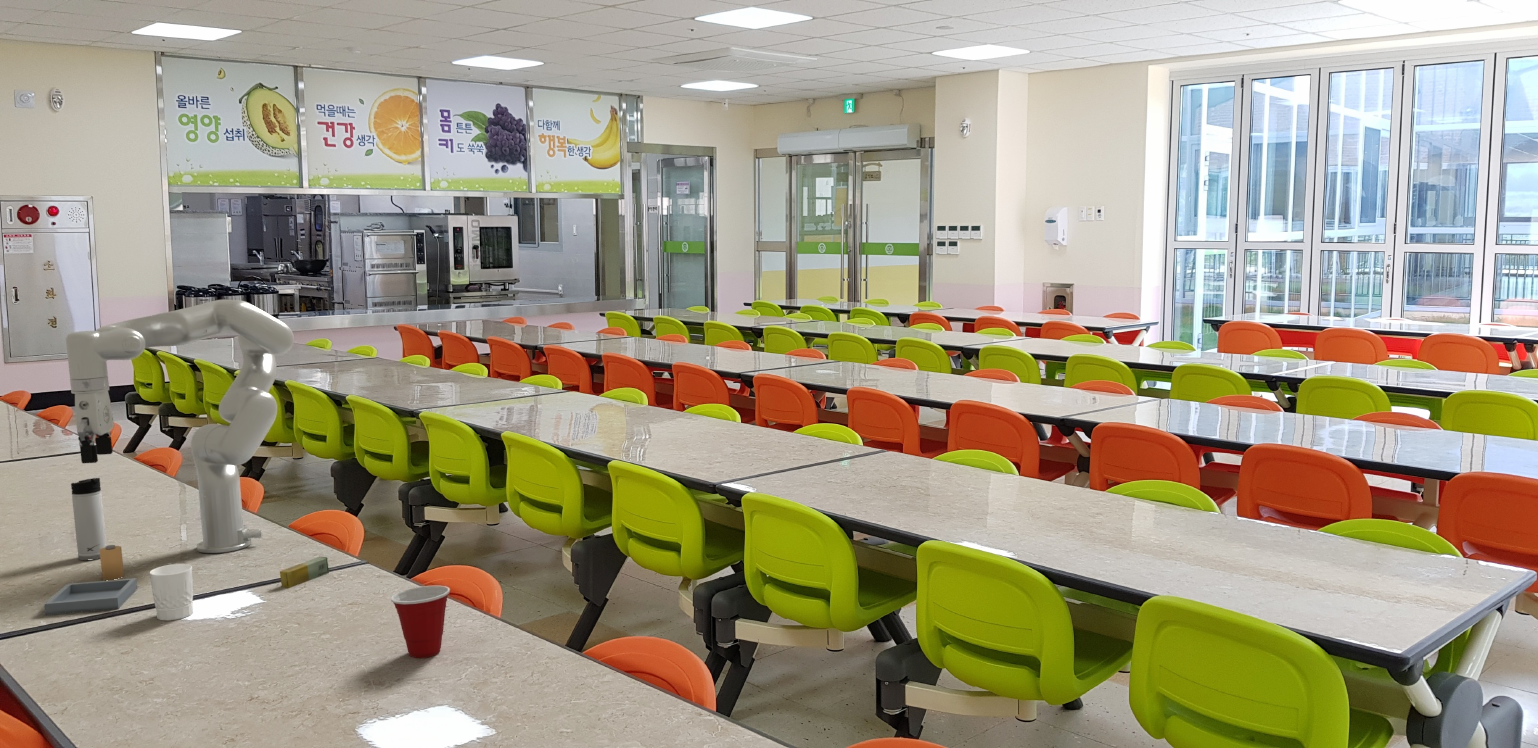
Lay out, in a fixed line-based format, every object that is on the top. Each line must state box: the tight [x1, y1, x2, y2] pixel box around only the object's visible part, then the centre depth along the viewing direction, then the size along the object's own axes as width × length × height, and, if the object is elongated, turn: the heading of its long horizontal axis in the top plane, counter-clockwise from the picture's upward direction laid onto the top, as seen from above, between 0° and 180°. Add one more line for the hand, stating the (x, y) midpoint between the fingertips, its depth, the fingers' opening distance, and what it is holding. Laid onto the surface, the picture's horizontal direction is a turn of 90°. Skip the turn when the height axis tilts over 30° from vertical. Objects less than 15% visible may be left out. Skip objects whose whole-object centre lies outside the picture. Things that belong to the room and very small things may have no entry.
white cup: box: [149, 563, 194, 621], centre depth 240 cm, size 8×8×10 cm
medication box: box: [279, 556, 330, 589], centre depth 263 cm, size 12×3×4 cm, turn 156°
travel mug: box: [70, 477, 108, 561], centre depth 283 cm, size 6×7×20 cm
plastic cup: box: [390, 585, 451, 659], centre depth 216 cm, size 11×11×12 cm
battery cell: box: [99, 544, 125, 581], centre depth 267 cm, size 4×4×8 cm
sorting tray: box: [43, 577, 138, 616], centre depth 250 cm, size 14×14×2 cm
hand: (97, 458), depth 264 cm, fingers open, 9 cm apart
